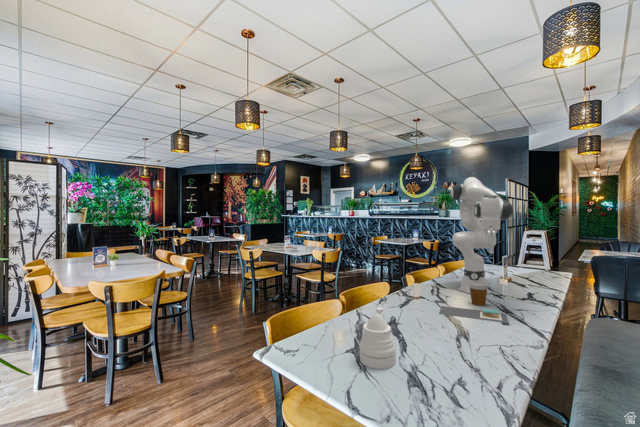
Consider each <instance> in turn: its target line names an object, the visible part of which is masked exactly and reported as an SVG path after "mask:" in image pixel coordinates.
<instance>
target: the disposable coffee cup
mask: <svg viewBox="0 0 640 427" xmlns="http://www.w3.org/2000/svg"><path fill="white" fill-rule="evenodd" d="M469 287H470V293H471V294H470V293H469V294H470V299H471V304H472V305H474V306H480V307H484V306H485V305H486V303H487V302H486V300H487V289H489V285H488V286H487V284H485V283H480V282H471V283H470V284H469Z"/></svg>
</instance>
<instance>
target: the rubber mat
mask: <svg viewBox="0 0 640 427" xmlns="http://www.w3.org/2000/svg"><path fill="white" fill-rule="evenodd" d="M438 314H439V315H443V316H451V317H458V318H464V319H465V318H466V319H473V320H481V321H489V322H496V323H501V325H503V326H510V324H509V323H510V322H509V319H508V316H507V313H503V312H499V319H498V318H490V317H483V316H482V310H478V309H471V308H469V309H468V308H461V307H453V306H445V305H441V306H440V308H439V311H438Z"/></svg>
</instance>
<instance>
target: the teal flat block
mask: <svg viewBox="0 0 640 427" xmlns="http://www.w3.org/2000/svg"><path fill="white" fill-rule="evenodd" d="M481 311H482V316H483V317H490V318H498V319H499V313H500V312H499V310H498V309H489V308H482V309H481Z"/></svg>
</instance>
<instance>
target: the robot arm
mask: <svg viewBox="0 0 640 427" xmlns="http://www.w3.org/2000/svg"><path fill="white" fill-rule="evenodd" d="M450 196H451V198H452V199H453V200H454V201H460V203H459V216H460V217H459V218H460V222H461V225H462V227H464V228H465V229H467V230H469V231H465V230H464V231H458V232H455V233H453V235H452V239H451V240H452V241H451V242H452V244H453V246H455V247H456V248H457V249H458V250H459V251H460V253H461V254H462V257H463V263H464V269H463V276H462V277H461V280H460V281H461V286H460V287H458V291H460V292H463V293H467V294H470V295H471V293H470V287H469V284H470V283H471V282H480V283H485V284H487V286H488V287H489V285H488V282H489V281H488V279H487V278H486V277H485V276H486V271H485V260H484V258H483V256H482V255H480V254H478V253H477V252H475V251H474V249H488V253H489V254H490V255H491V254H494V247H495V246H496V245H497V233H498V231H499V230H501V220H508V219H509V218H511V217H512V216H513V213H514V208H513V205H512V204H511V202H509V201H508V200H505V199H504V198H503V197H502V196H501V195H499V193H497V191H495V190H493V189H490V188H488V187H487V186H486V184H484V183H482V181H481V180H480V179H478V178H477V177H474V176H469V177H467V178H466V179H465V180H464V181H463V184H454V185H453V186H452V187H451V190H450ZM487 294H492V291H491V290H490V289H489V288H488V289H487Z"/></svg>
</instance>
